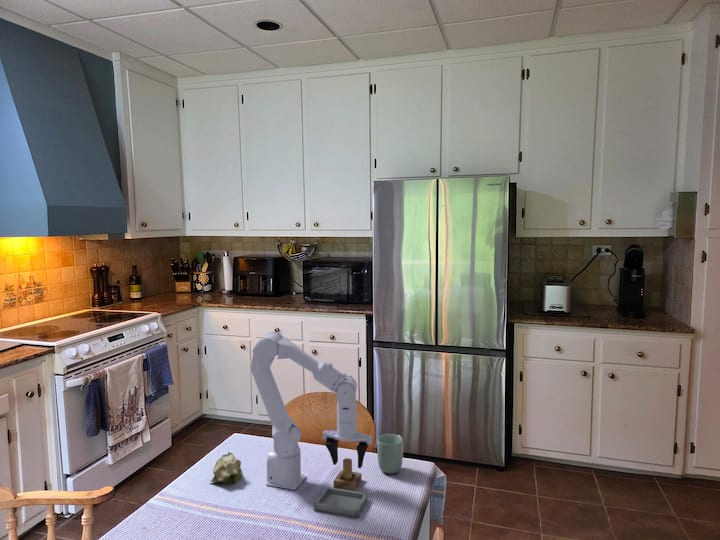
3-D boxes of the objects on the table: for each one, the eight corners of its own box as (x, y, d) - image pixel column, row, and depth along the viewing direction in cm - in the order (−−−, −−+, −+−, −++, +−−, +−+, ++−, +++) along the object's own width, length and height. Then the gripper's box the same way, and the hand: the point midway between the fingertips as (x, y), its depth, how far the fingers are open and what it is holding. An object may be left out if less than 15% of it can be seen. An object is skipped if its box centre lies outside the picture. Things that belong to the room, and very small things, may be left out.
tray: (314, 510, 126) (313, 504, 126) (326, 492, 135) (326, 486, 135) (357, 518, 123) (357, 511, 123) (367, 499, 131) (367, 493, 131)
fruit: (220, 475, 148) (223, 449, 149) (247, 481, 146) (251, 454, 146) (203, 485, 139) (207, 456, 140) (232, 492, 137) (236, 463, 137)
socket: (333, 487, 138) (333, 480, 138) (341, 476, 144) (341, 470, 144) (354, 490, 136) (354, 484, 136) (361, 479, 142) (361, 473, 142)
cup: (401, 478, 143) (401, 445, 142) (375, 475, 144) (375, 443, 143) (404, 465, 150) (404, 434, 150) (379, 463, 152) (379, 432, 151)
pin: (342, 485, 139) (341, 461, 138) (345, 480, 142) (344, 457, 141) (350, 486, 138) (350, 463, 138) (353, 482, 141) (353, 458, 140)
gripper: (374, 416, 140) (375, 461, 141) (328, 412, 144) (329, 455, 145) (367, 426, 133) (368, 473, 134) (319, 420, 138) (320, 466, 139)
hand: (347, 465), depth 139 cm, fingers open, 7 cm apart
